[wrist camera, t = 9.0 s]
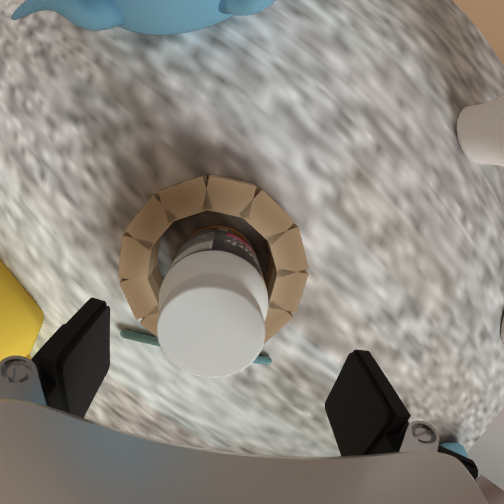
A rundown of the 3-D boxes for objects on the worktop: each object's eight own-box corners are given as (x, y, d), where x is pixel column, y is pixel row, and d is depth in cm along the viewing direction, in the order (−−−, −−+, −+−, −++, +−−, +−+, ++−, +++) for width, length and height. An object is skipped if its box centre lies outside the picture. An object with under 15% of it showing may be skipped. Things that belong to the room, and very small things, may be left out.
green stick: (272, 355, 24) (273, 360, 24) (269, 361, 25) (271, 366, 24) (121, 326, 22) (119, 331, 22) (121, 333, 23) (119, 338, 22)
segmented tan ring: (314, 199, 21) (328, 204, 18) (271, 344, 24) (277, 365, 21) (147, 161, 19) (134, 161, 16) (126, 315, 22) (115, 335, 19)
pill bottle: (271, 269, 22) (304, 345, 13) (209, 312, 23) (203, 403, 13) (224, 207, 21) (224, 244, 11) (161, 255, 21) (118, 323, 12)
